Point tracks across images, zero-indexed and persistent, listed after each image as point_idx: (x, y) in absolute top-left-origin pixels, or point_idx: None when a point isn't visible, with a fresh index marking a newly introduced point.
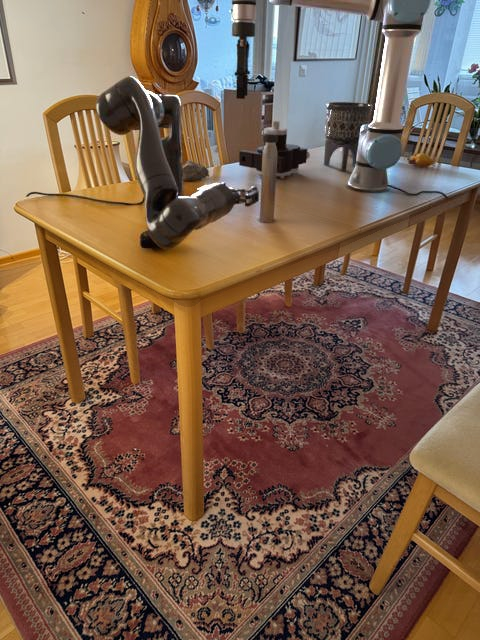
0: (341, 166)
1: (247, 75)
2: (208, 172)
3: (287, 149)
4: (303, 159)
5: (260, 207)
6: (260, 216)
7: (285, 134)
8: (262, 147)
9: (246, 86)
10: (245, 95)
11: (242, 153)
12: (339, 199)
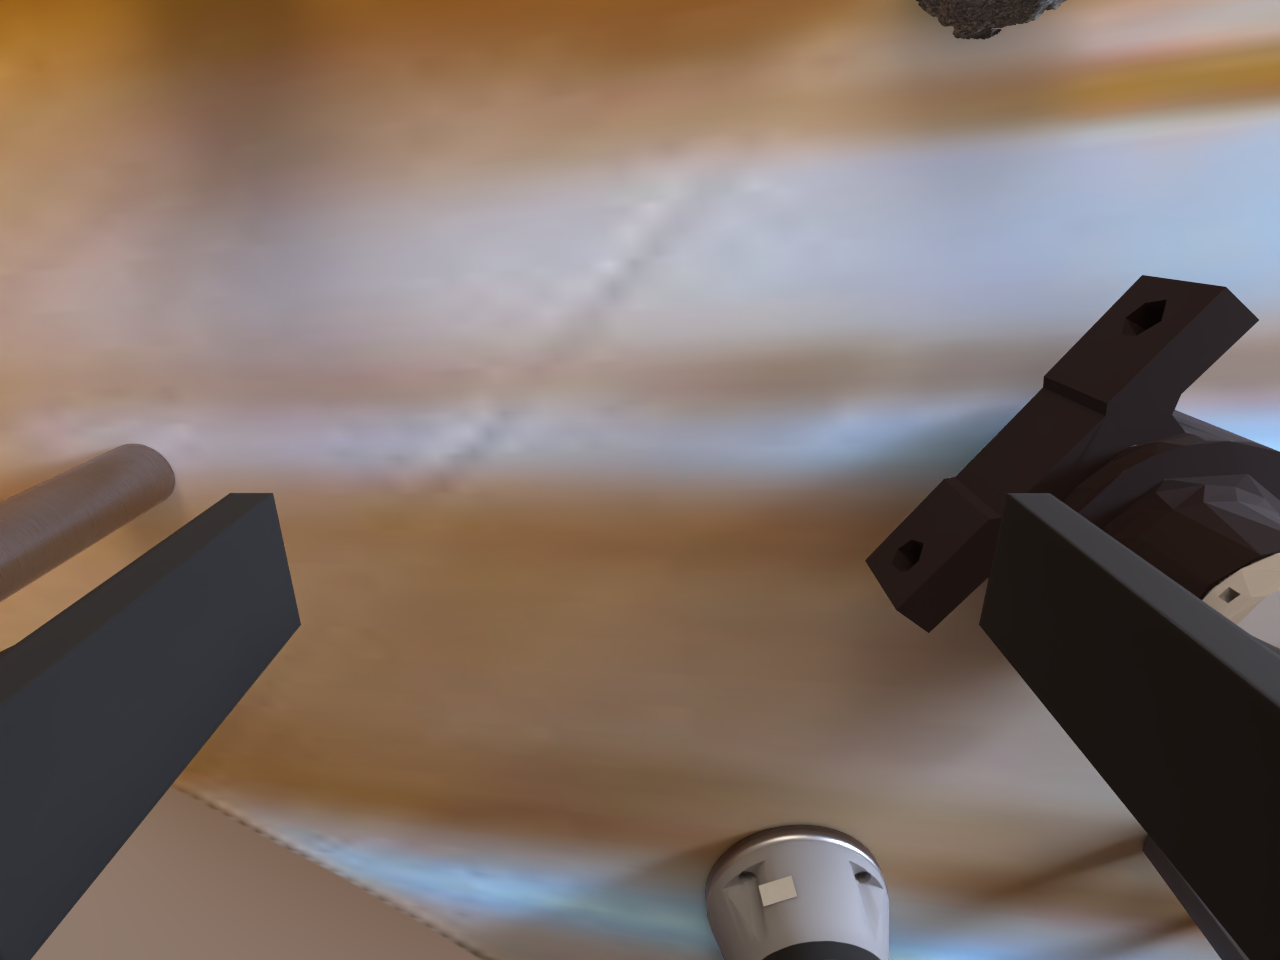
0: None
1: (1252, 954)
2: (997, 26)
3: None
4: None
5: (79, 466)
6: (105, 453)
7: None
8: (1203, 488)
9: (1071, 715)
10: (985, 599)
11: (1183, 314)
12: (571, 771)
